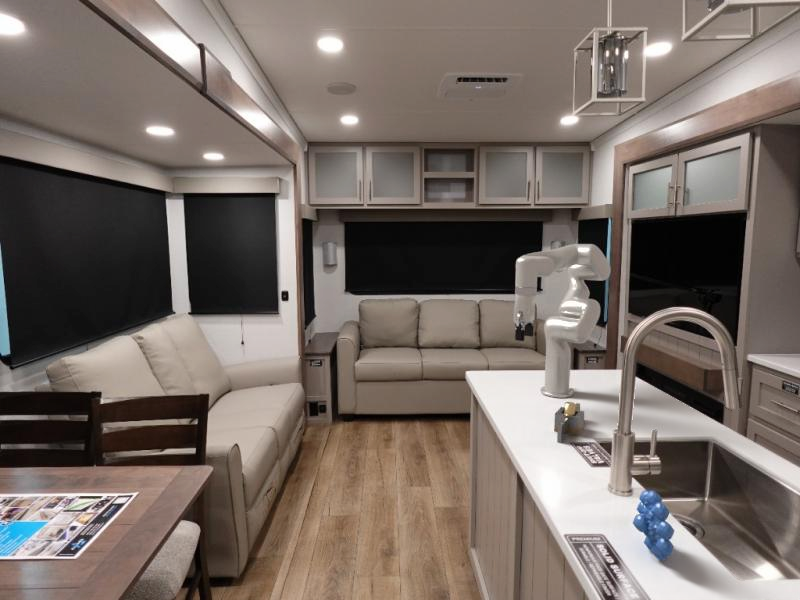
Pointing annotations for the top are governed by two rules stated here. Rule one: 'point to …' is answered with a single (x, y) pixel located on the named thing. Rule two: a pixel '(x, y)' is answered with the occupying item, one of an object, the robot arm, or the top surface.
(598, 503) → the top surface
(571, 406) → the hinge pin
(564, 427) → the hinge
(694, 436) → the top surface
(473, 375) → the top surface
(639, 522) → the grapes
